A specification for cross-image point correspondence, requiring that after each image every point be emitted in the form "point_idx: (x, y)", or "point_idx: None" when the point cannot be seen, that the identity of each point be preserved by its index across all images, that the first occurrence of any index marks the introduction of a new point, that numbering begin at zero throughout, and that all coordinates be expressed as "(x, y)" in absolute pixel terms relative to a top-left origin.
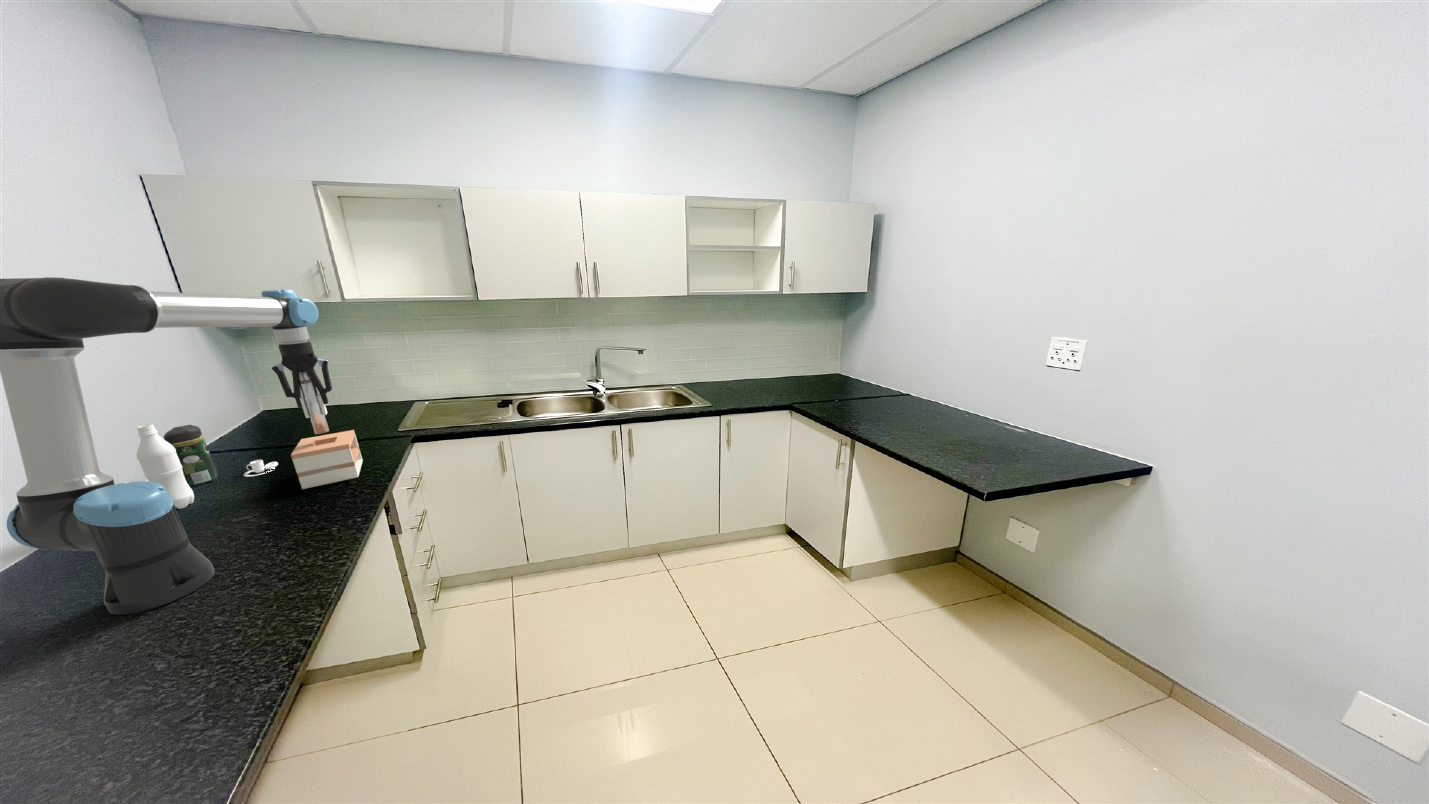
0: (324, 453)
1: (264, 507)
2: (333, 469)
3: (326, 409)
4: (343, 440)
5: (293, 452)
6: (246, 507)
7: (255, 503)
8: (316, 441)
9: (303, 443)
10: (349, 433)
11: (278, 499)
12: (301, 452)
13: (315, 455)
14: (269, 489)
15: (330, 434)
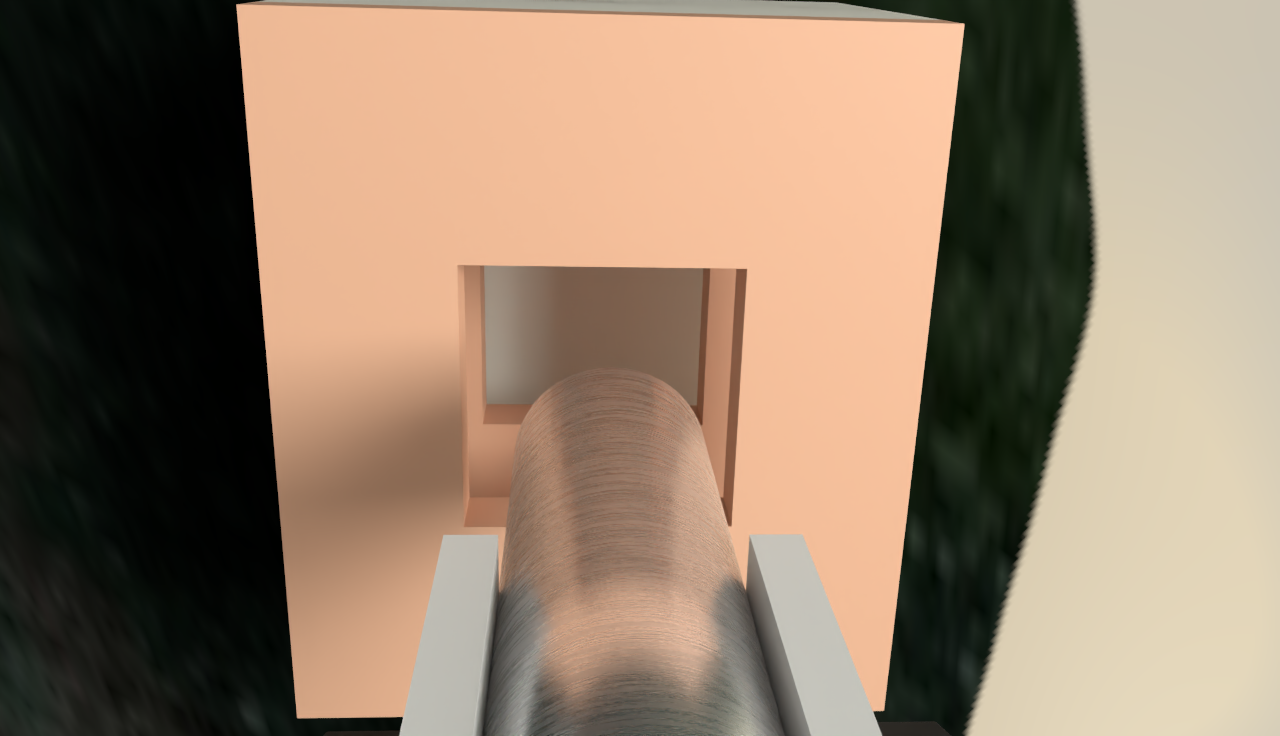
0: None
1: (180, 712)
2: None
3: (819, 586)
4: (828, 521)
5: (303, 641)
6: (32, 633)
7: (74, 589)
8: (482, 260)
9: (331, 301)
10: (899, 204)
11: (237, 612)
12: (400, 702)
13: None
14: (71, 310)
15: (641, 51)
